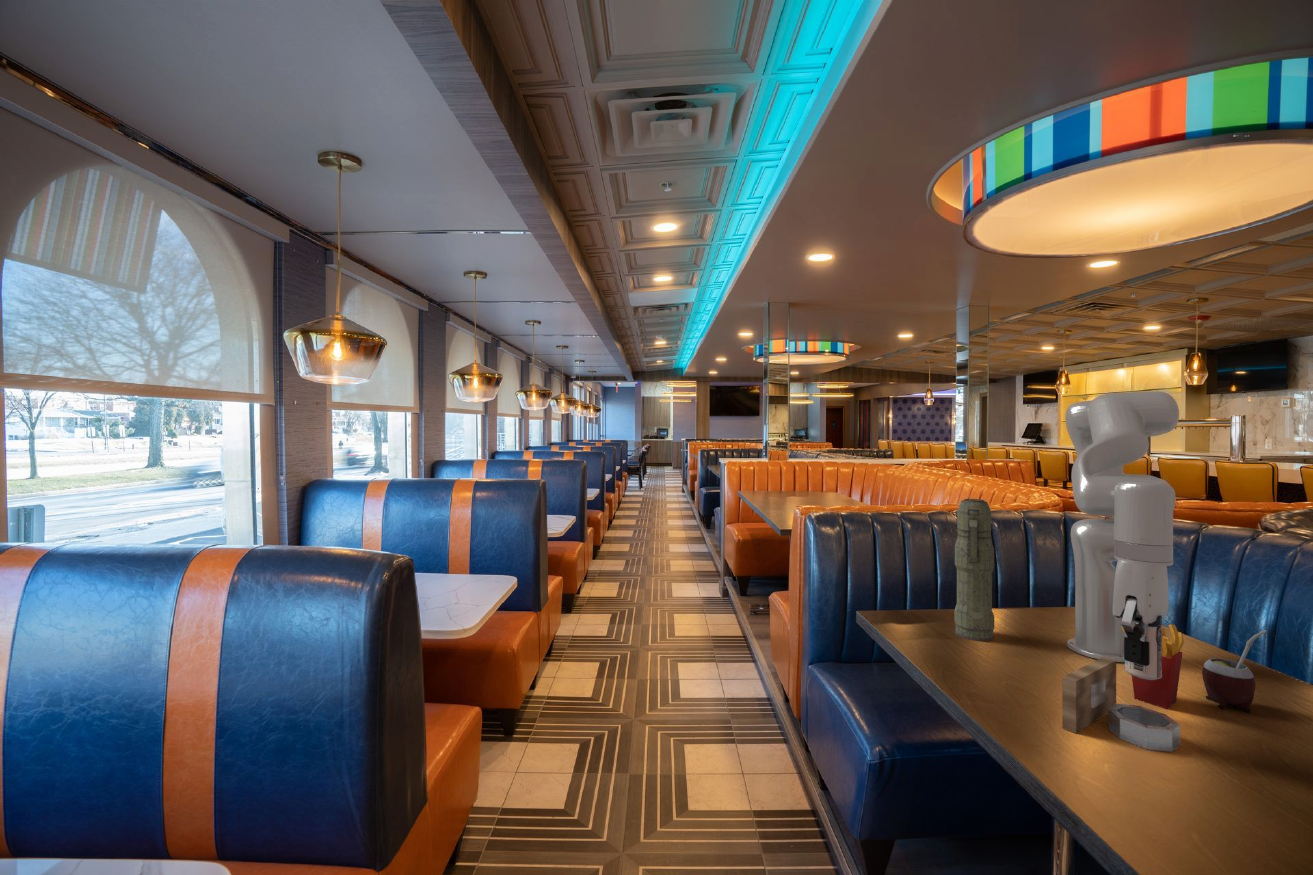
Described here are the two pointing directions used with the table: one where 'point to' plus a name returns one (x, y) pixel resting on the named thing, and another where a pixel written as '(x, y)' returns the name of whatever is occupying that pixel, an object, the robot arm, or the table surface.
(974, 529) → the thermos
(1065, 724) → the brown flat block
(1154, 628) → the beer can
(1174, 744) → the grey octagonal ring
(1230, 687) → the mate gourd
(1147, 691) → the french fries
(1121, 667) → the table surface
